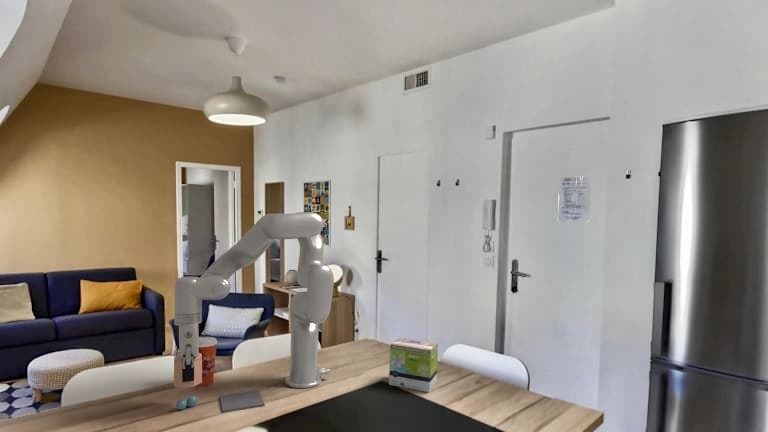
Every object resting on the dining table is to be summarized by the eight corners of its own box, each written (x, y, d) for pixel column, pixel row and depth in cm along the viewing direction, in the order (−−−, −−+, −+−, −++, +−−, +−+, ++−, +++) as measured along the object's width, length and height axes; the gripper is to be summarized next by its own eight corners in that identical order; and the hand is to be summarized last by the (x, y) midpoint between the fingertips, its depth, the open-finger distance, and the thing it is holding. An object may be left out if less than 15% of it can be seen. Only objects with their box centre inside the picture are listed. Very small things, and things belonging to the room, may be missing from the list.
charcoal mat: (258, 391, 140) (258, 389, 140) (264, 406, 129) (264, 404, 129) (219, 397, 135) (219, 395, 135) (222, 412, 124) (222, 410, 124)
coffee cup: (207, 388, 142) (208, 343, 142) (185, 386, 144) (186, 341, 144) (221, 379, 150) (222, 337, 150) (200, 377, 152) (202, 335, 152)
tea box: (388, 386, 148) (389, 343, 148) (398, 376, 157) (399, 336, 157) (430, 393, 142) (430, 349, 142) (437, 383, 151) (438, 341, 152)
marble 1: (184, 407, 128) (188, 397, 128) (184, 412, 125) (188, 403, 125) (174, 405, 127) (178, 396, 127) (173, 411, 124) (177, 401, 124)
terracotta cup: (201, 376, 133) (201, 350, 133) (202, 385, 126) (202, 358, 126) (174, 380, 129) (174, 354, 130) (173, 389, 123) (173, 361, 123)
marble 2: (196, 403, 130) (197, 393, 130) (196, 408, 128) (198, 398, 128) (185, 403, 129) (187, 393, 129) (185, 408, 126) (187, 398, 126)
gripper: (202, 323, 122) (202, 384, 121) (200, 311, 137) (200, 365, 137) (173, 325, 118) (173, 389, 118) (174, 313, 134) (174, 369, 134)
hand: (188, 376), depth 128 cm, fingers closed on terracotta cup, 7 cm apart
